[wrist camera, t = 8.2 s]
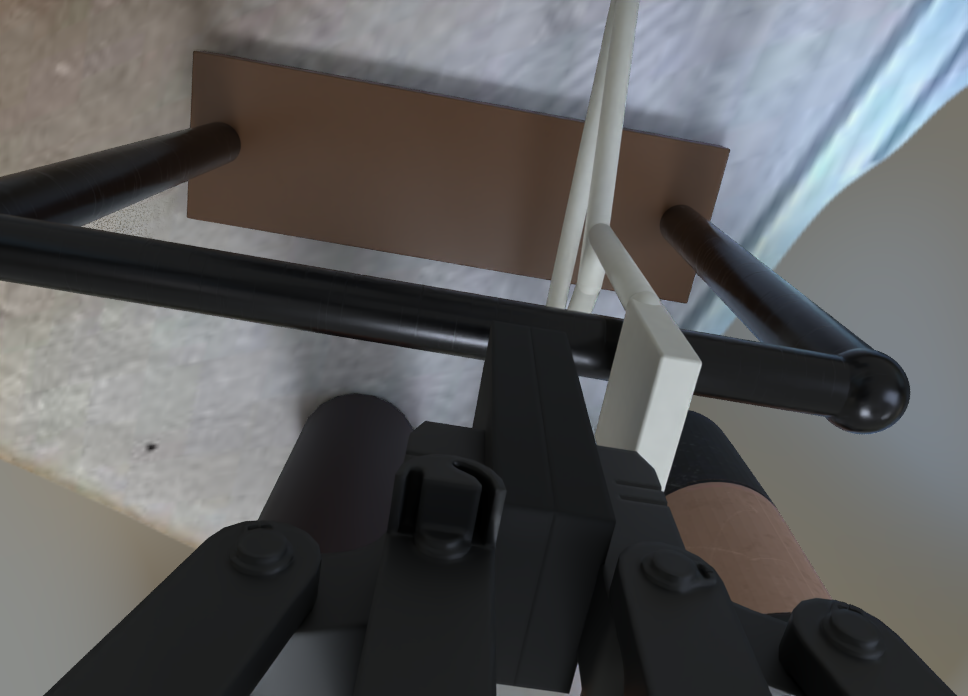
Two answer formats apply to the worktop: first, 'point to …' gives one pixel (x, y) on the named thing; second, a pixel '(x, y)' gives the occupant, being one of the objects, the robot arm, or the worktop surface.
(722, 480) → the travel mug
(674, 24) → the worktop surface
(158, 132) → the worktop surface
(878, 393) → the rail
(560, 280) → the hanger
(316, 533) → the bottle
